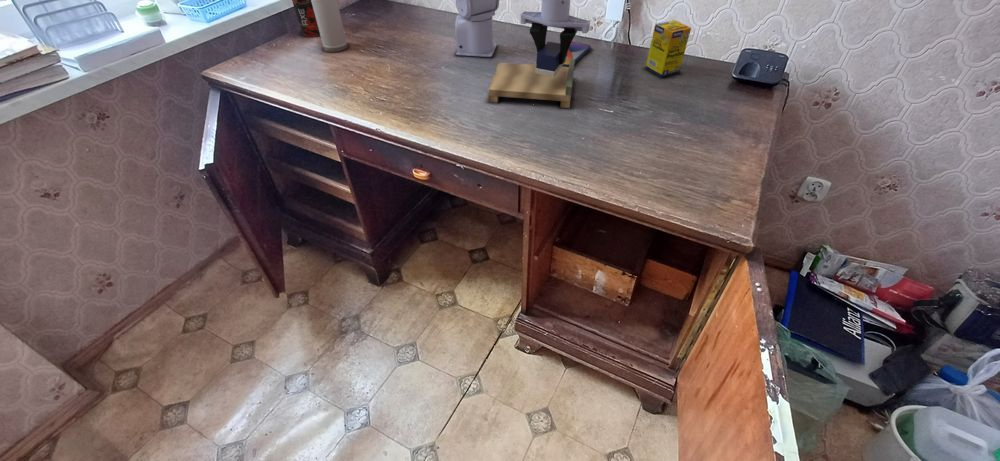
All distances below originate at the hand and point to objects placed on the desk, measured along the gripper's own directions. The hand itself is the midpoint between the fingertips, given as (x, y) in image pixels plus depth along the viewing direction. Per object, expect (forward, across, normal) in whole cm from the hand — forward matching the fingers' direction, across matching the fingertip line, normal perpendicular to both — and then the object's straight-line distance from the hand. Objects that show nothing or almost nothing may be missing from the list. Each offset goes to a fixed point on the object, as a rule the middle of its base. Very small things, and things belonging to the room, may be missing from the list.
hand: (551, 60), depth 103 cm
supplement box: (+8, -22, -21) cm, 31 cm away
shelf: (+7, +4, +1) cm, 8 cm away
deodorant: (+7, +74, -7) cm, 75 cm away
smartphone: (+7, +2, -20) cm, 21 cm away
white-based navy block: (+1, 0, 0) cm, 1 cm away
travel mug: (+7, +62, -1) cm, 62 cm away
